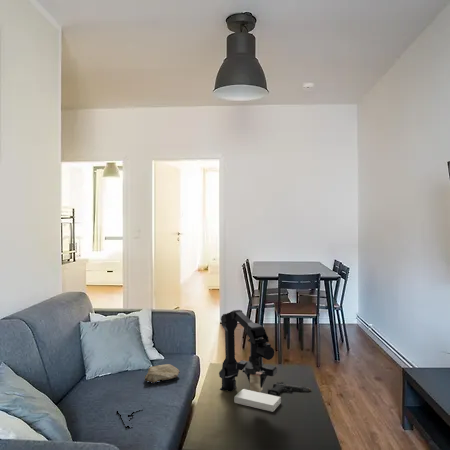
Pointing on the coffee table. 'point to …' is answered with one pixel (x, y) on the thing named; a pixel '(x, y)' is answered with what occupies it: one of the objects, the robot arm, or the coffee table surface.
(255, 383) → the brown and pink block
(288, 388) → the handgun
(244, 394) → the panel
